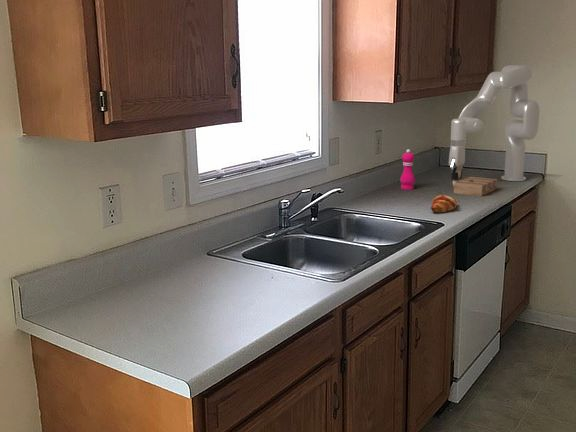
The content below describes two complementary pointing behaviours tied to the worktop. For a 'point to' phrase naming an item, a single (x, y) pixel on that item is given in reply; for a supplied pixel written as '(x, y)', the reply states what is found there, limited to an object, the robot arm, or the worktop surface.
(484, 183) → the board
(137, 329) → the worktop surface
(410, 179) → the pepper mill
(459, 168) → the peg
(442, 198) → the croissant
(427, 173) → the worktop surface
